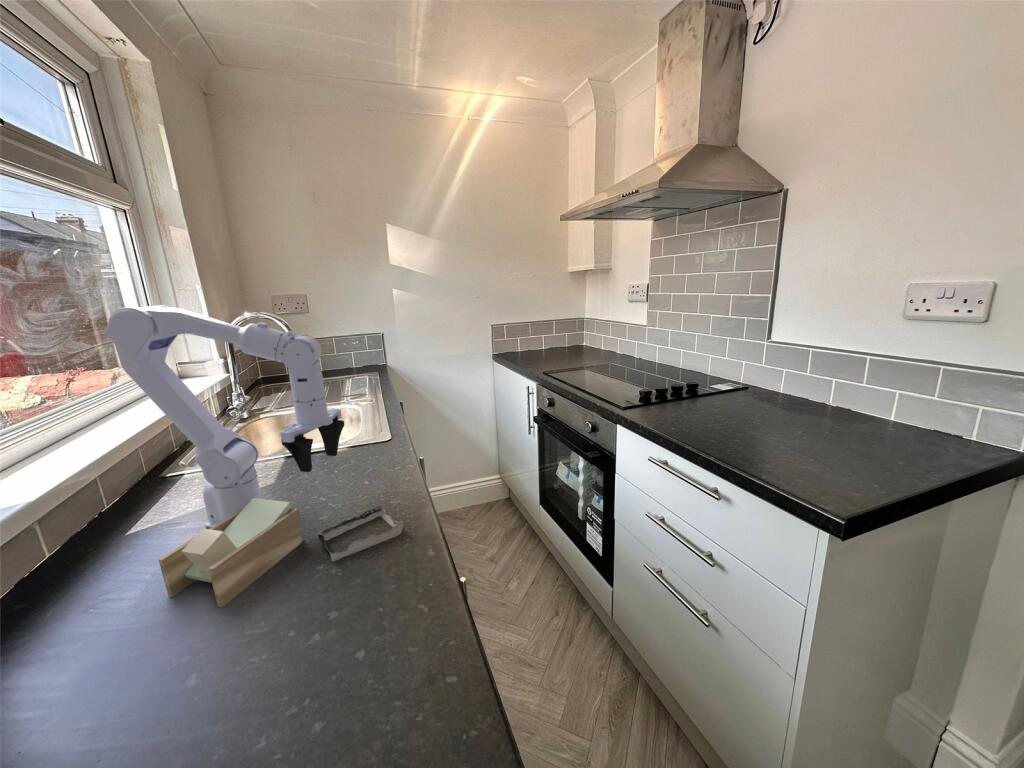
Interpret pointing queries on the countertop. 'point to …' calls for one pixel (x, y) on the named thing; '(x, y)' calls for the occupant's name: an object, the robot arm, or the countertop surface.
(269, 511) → the trapdoor
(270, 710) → the countertop surface
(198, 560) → the beige cube
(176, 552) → the trapdoor frame
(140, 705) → the countertop surface
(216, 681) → the countertop surface
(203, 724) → the countertop surface
